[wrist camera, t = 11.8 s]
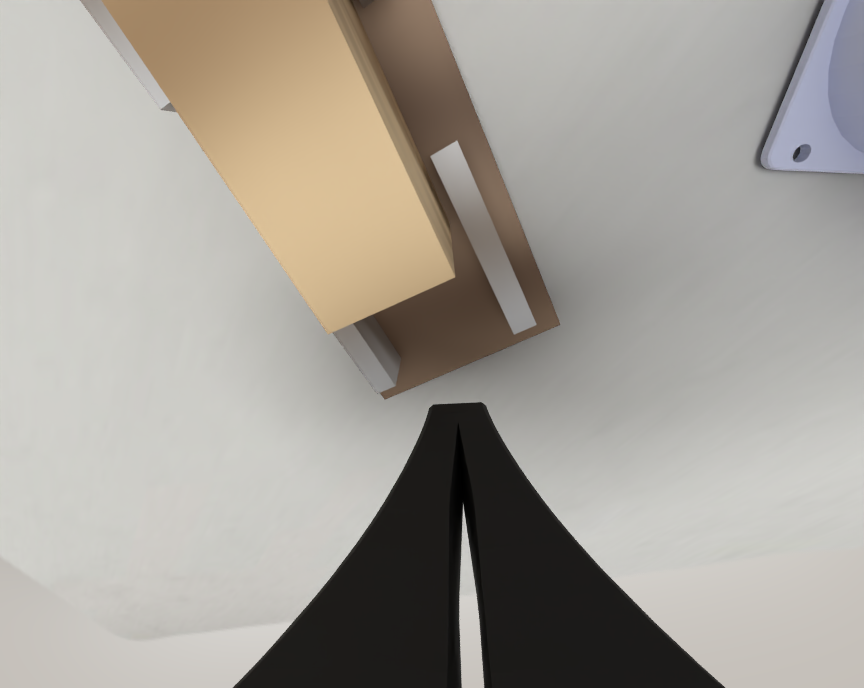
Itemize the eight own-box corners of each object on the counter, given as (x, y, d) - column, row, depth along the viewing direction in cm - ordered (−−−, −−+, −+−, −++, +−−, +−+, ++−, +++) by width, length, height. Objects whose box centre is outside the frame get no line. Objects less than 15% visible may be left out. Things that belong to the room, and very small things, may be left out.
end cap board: (553, 314, 15) (582, 356, 12) (387, 386, 17) (375, 439, 14) (288, -345, 8) (191, -657, 5) (54, -92, 10) (-122, -202, 7)
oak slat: (449, 223, 12) (455, 277, 7) (374, 260, 13) (328, 334, 8) (241, -252, 8) (-164, -1059, 3) (141, -158, 9) (-339, -649, 3)
